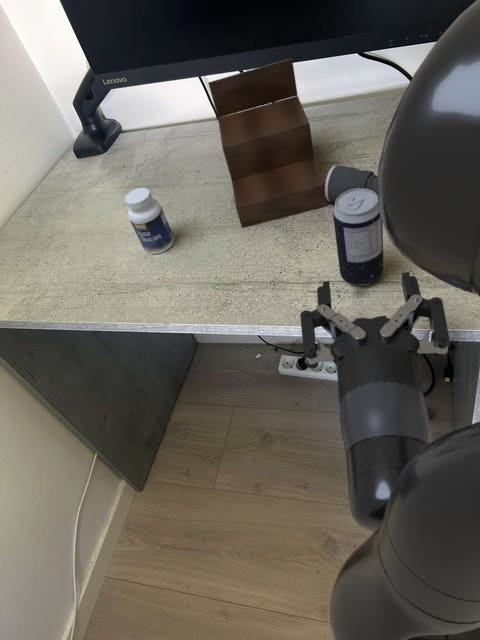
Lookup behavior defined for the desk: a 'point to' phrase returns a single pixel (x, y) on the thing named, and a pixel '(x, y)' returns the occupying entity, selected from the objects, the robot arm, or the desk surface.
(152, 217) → the pill bottle
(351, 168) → the flashlight
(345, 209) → the beverage can
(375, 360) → the robot arm
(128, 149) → the desk surface
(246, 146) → the wooden stair steps
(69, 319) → the desk surface
